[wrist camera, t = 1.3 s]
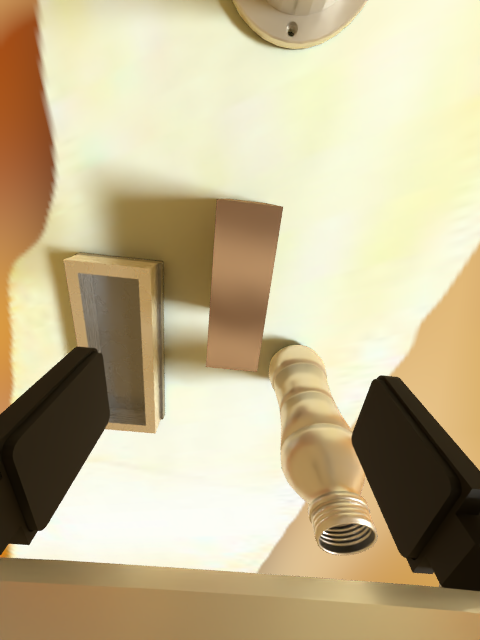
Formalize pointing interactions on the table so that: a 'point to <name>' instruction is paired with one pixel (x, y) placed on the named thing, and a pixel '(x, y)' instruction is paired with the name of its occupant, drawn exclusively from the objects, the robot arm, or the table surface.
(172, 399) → the table surface
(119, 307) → the tan rectangular tray
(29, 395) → the robot arm
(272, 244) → the door panel
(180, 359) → the table surface
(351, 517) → the plastic bottle
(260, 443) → the table surface
